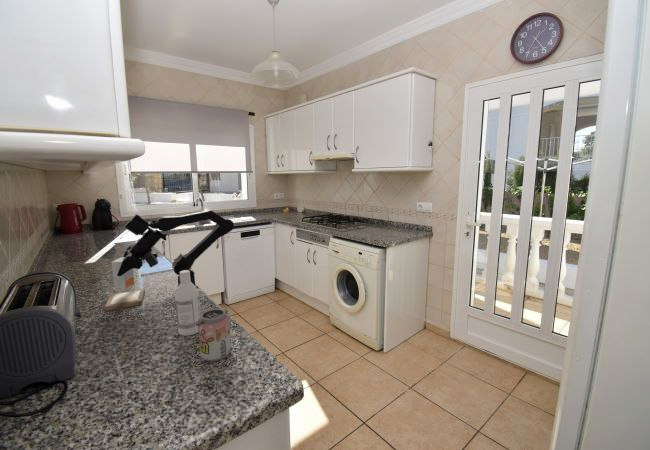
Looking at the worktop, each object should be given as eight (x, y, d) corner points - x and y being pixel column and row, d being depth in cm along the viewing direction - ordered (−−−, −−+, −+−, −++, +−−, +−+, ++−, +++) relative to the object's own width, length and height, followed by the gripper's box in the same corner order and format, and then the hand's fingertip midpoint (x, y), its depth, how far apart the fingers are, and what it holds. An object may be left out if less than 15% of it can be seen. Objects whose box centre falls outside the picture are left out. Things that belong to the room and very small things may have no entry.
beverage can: (193, 353, 85) (189, 313, 83) (220, 341, 91) (217, 303, 89) (209, 367, 79) (205, 324, 77) (237, 352, 85) (234, 312, 83)
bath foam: (191, 323, 102) (185, 267, 99) (206, 327, 99) (201, 269, 96) (173, 333, 96) (167, 273, 92) (189, 338, 93) (183, 276, 90)
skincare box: (125, 290, 119) (121, 262, 116) (115, 290, 119) (110, 262, 116) (135, 284, 125) (131, 256, 122) (125, 284, 125) (121, 256, 122)
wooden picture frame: (145, 292, 131) (144, 288, 131) (142, 304, 119) (141, 300, 118) (111, 297, 126) (111, 293, 125) (105, 310, 113) (104, 306, 113)
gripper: (165, 259, 119) (137, 291, 116) (163, 247, 135) (138, 275, 132) (139, 243, 113) (108, 276, 110) (140, 232, 129) (113, 261, 126)
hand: (119, 272), depth 120 cm, fingers closed on skincare box, 7 cm apart
